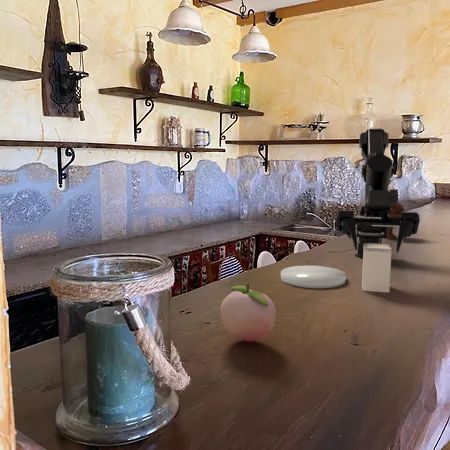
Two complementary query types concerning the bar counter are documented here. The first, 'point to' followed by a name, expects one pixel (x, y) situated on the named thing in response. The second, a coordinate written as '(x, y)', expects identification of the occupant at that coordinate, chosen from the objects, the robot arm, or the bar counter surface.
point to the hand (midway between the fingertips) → (376, 250)
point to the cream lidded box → (376, 267)
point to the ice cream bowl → (394, 213)
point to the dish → (313, 276)
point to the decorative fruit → (247, 313)
